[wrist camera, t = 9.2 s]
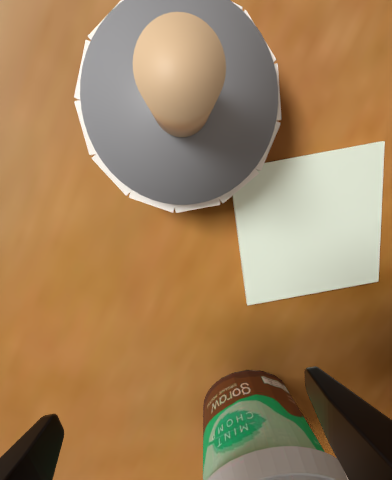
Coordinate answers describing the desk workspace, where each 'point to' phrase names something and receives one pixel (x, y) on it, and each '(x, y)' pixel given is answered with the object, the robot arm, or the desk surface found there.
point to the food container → (260, 433)
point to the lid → (179, 97)
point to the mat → (311, 223)
